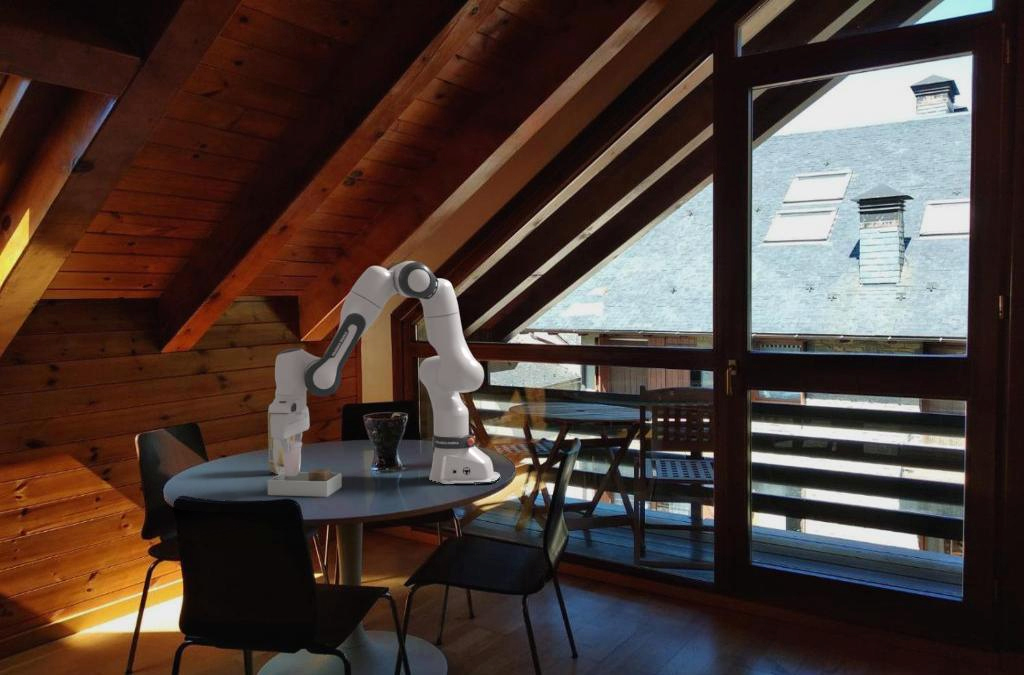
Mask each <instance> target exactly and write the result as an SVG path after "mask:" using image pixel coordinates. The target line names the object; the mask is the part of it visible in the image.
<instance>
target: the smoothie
mask: <svg viewBox="0 0 1024 675" xmlns="http://www.w3.org/2000/svg"><path fill="white" fill-rule="evenodd" d="M288 443H289V446H290V452H288V453H283V450H282V456H283V463H284V471H285V476H297V475H298V470H299V462H300V453H301V454H302V452H301V450H302V447H303V442H302V440H301V441H290V437H289V441H288ZM280 446H281V448H282V445H281V443H280Z"/></svg>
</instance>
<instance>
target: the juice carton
mask: <svg viewBox="0 0 1024 675" xmlns="http://www.w3.org/2000/svg"><path fill="white" fill-rule="evenodd" d="M271 404H272V403H270V404H269V405H268V407H269V406H270V405H271ZM271 414H272V413H269V409H268V412H267V431H268V432H267V435H268V436H267V438H268V465H269V470H270V472H271V473H272V472H273V473H272V474H274V473H275V475H277V474H278V475H279V474H281V473H283V472H285V471H284V463H283V456H282V448H281V446H280V443H281V442H280V440H274V439H273V438H272V436H271V426H270V417H271ZM294 438H295V436H291V437H290V441H294ZM301 454H302V452H301V453H300V462H299V470H298V472H301V471H300V470H301V465H302V463H301V462H302V455H301Z"/></svg>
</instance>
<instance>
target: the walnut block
mask: <svg viewBox="0 0 1024 675" xmlns="http://www.w3.org/2000/svg"><path fill="white" fill-rule="evenodd" d="M308 472H309V473H308V481H322V482H326V481H328V480H329V479H331V473H332V469H324V468H323V469H322V468H320V469H319V468H315V469H311V471H308Z"/></svg>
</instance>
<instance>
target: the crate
mask: <svg viewBox="0 0 1024 675" xmlns="http://www.w3.org/2000/svg"><path fill="white" fill-rule="evenodd" d="M309 472H310V471H299V472H298V475H297V476H285V472H283V473H281V474H279V475H277V474H276V475H275V476H273V477H272V478H270V479H267V495H268V496H294V497H322V498H324V497H326V498H328V497H330V496H331V495H332V494H334V493H336V492H337V491H338V490H340V489H342V486H343V485H342V484H343V483H342V481H343V480H342V478H343V476H342V472H331V479H329V480H328V481H326V482H322V481H308V473H309Z"/></svg>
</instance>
